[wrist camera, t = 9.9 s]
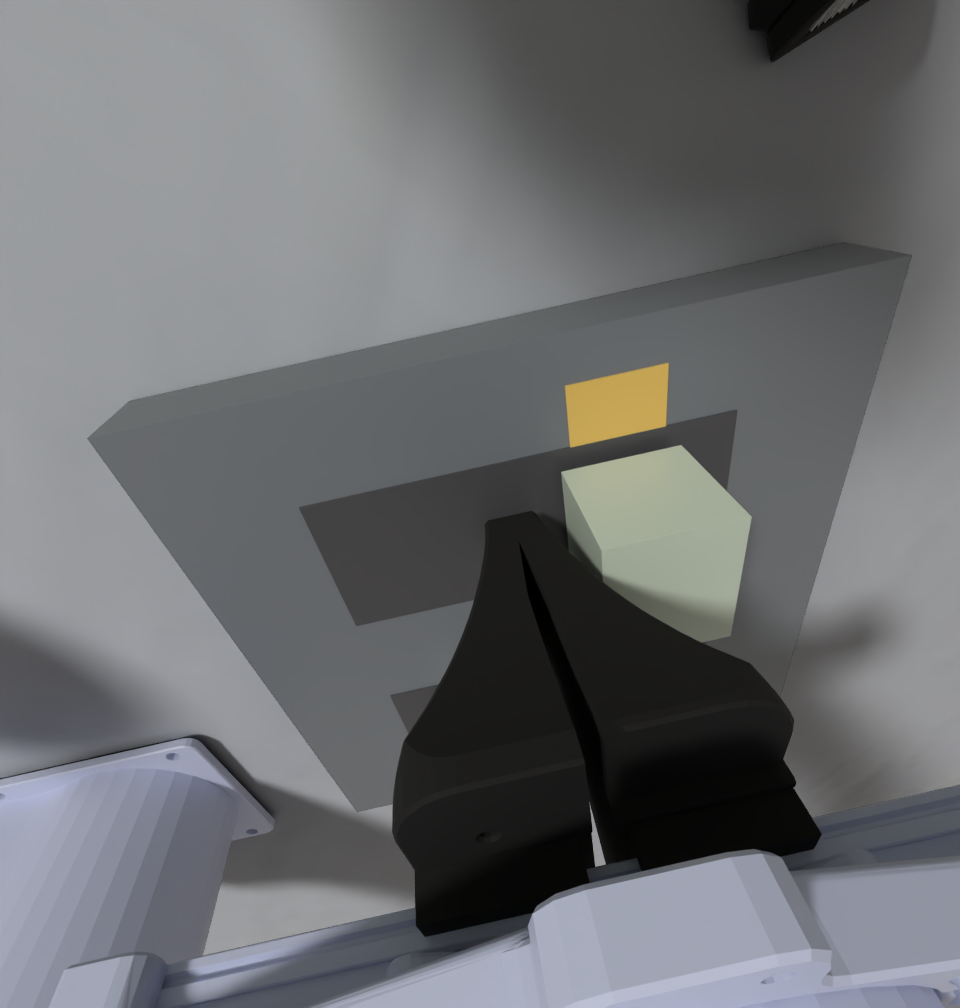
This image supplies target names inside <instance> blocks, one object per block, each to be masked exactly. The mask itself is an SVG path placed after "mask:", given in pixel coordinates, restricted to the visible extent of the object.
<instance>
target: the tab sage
mask: <svg viewBox="0 0 960 1008" xmlns="http://www.w3.org/2000/svg"><path fill="white" fill-rule="evenodd" d="M561 475H562V486H563V496H564V506H565V516H566V526H567V536H568V547H569V552H570V553H571V554H572V555H573V556H574V557H575V558H576V559H577V560H578V561H579V562H580V563H582V564H583V565H584V566H585V567H586V568H587V569H588V570H589V571H591V572H592V573H593V574H594V575H595V576H597V577H598V578H599V579H600V580H601V581H603V582H604V583H605V584H606V585H608V586H609V587H610V588H612V589H613V590H614V591H616V592H617V593H618V594H620V595H621V596H623V597H624V598H625V599H627V600H628V601H630V602H631V603H633V604H634V605H636V606H637V607H639V608H640V609H642V610H643V611H645V612H646V613H648V614H650V615H652V616H653V617H655V618H657V619H659V620H660V621H662V622H664V623H666V624H667V625H669V626H671V627H673V628H674V629H676V630H678V631H680V632H681V633H683V634H685V635H687V636H689V637H691V638H693V639H695V640H697V641H699V642H707V641H711V640H715V639H720V638H724V637H729V636H731V631H732V626H733V620H734V614H735V609H736V603H737V598H738V592H739V586H740V581H741V575H742V569H743V564H744V558H745V552H746V547H747V541H748V535H749V530H750V524H751V518H752V517H751V516H750V515H749V514H748V512H747V511H746V510H745V509H744V508H743V507H742V506H741V505H740V504H739V503H738V502H737V501H736V500H735V499H734V498H733V497H732V496H731V495H730V494H729V493H728V492H727V491H726V490H725V489H724V488H723V487H722V486H721V485H720V484H719V483H718V482H717V481H716V480H715V479H714V478H713V477H712V476H711V475H710V474H709V473H708V472H707V471H706V470H705V469H704V468H703V467H702V466H701V465H700V464H699V463H698V462H697V461H696V460H695V459H694V458H693V457H692V455H691V454H690V453H689V452H688V451H687V450H686V449H685V448H684V447H683V446H682V445H679V446H674V447H670V448H666V449H661V450H657V451H652V452H648V453H643V454H639V455H634V456H630V457H625V458H621V459H616V460H612V461H607V462H603V463H598V464H594V465H589V466H585V467H580V468H576V469H571V470H567V471H562V472H561Z"/></svg>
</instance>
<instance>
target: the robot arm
mask: <svg viewBox="0 0 960 1008" xmlns="http://www.w3.org/2000/svg"><path fill="white" fill-rule="evenodd" d="M484 526H485V548H484V557H483V563H482V568H481V574H480V579H479V583H478V587H477V591H476V594H475V598H474V602H473V605H472V609H471V612H470V615H469V618H468V621H467V623H466V626H465V629H464V632H463V634H462V637H461V639H460V641H459V644H458V646H457V648H456V651H455V653H454V655H453V658H452V660H451V662H450V664H449V666H448V668H447V670H446V672H445V674H444V676H443V677H442V679H441V681H440V683H439V685H438V687H437V688H436V690H435V692H434V694H433V696H432V698H431V699H430V701H429V703H428V704H427V706H426V708H425V709H424V711H423V712H422V714H421V715H420V717H419V718H418V720H417V721H416V723H415V724H414V726H413V728H412V729H411V731H410V732H409V734H408V735H407V737H406V738H405V740H404V742H403V745H402V749H401V753H400V757H399V762H398V767H397V772H396V777H395V785H394V793H393V825H392V833H393V836H394V839H395V842H396V843H397V845H398V846H399V848H400V849H401V851H402V852H403V854H404V855H405V856H406V858H407V859H408V861H409V862H410V864H411V865H412V867H413V868H414V870H415V908H412V909H407V910H403V911H399V912H394V913H390V914H385V915H381V916H376V917H372V918H368V919H363V920H359V921H354V922H350V923H346V924H341V925H337V926H332V927H328V928H323V929H319V930H315V931H310V932H306V933H301V934H297V935H292V936H288V937H284V938H279V939H275V940H270V941H266V942H261V943H257V944H253V945H248V946H244V947H239V948H235V949H230V950H226V951H222V952H217V953H213V954H208V955H204V956H203V953H204V949H205V945H206V941H207V937H208V933H209V929H210V925H211V921H212V917H213V913H214V909H215V905H216V901H217V897H218V893H219V889H220V885H221V881H222V877H223V873H224V869H225V865H226V861H227V857H228V853H229V849H230V845H231V841H235V840H239V839H244V838H248V837H252V836H257V835H261V834H266V833H269V832H271V831H272V830H273V828H274V823H275V820H274V818H273V817H272V816H271V815H270V814H269V813H268V812H267V811H266V810H265V809H264V808H263V807H262V806H261V805H260V804H259V803H258V802H257V801H256V800H255V799H254V798H253V796H252V795H251V794H250V793H249V792H248V791H247V790H246V789H245V788H244V787H243V786H242V785H241V784H240V783H239V782H238V781H237V780H236V779H235V778H234V777H233V776H232V775H231V773H230V772H229V771H228V770H227V769H226V768H225V767H224V766H223V765H222V764H221V763H220V762H219V761H218V760H217V759H216V758H215V757H214V756H213V755H212V754H211V753H210V752H209V750H208V749H207V748H206V747H205V746H204V745H203V744H202V743H201V742H200V741H198V740H196V739H193V738H183V739H178V740H174V741H169V742H165V743H160V744H156V745H151V746H147V747H143V748H138V749H134V750H129V751H125V752H120V753H116V754H111V755H107V756H102V757H98V758H94V759H89V760H85V761H80V762H76V763H71V764H67V765H62V766H58V767H53V768H49V769H45V770H40V771H36V772H31V773H27V774H22V775H18V776H13V777H9V778H4V779H0V1008H960V785H956V786H952V787H947V788H943V789H938V790H934V791H930V792H925V793H921V794H916V795H912V796H907V797H903V798H899V799H894V800H890V801H885V802H881V803H876V804H872V805H868V806H863V807H859V808H854V809H850V810H846V811H841V812H837V813H832V814H828V815H823V816H819V817H815V818H812V817H811V816H810V814H809V812H808V811H807V809H806V808H805V806H804V804H803V803H802V801H801V800H800V798H799V796H798V795H797V793H796V792H795V790H794V788H793V787H795V785H796V781H795V777H794V776H793V774H792V773H791V771H790V770H789V768H788V766H787V765H786V763H785V762H784V760H783V758H784V755H785V752H786V749H787V746H788V743H789V741H790V738H791V735H792V731H793V724H794V719H793V717H792V715H791V713H790V711H789V709H788V708H787V706H786V705H785V704H784V702H783V701H782V699H781V698H780V696H779V695H778V694H777V692H776V691H775V690H774V689H773V688H772V687H771V686H770V684H769V683H768V682H767V681H766V680H765V679H764V678H763V677H762V675H761V674H760V673H759V672H758V671H757V670H756V669H755V668H754V667H753V666H752V664H751V663H749V662H746V661H744V660H742V659H739V658H737V657H734V656H732V655H730V654H727V653H725V652H722V651H720V650H718V649H715V648H713V647H711V646H708V645H706V644H704V643H702V642H699V641H697V640H695V639H693V638H691V637H689V636H687V635H685V634H683V633H681V632H680V631H678V630H676V629H674V628H673V627H671V626H669V625H667V624H666V623H664V622H662V621H660V620H659V619H657V618H655V617H653V616H652V615H650V614H648V613H646V612H645V611H643V610H642V609H640V608H639V607H637V606H636V605H634V604H633V603H631V602H630V601H628V600H627V599H625V598H624V597H623V596H621V595H620V594H618V593H617V592H616V591H614V590H613V589H612V588H610V587H609V586H608V585H606V584H605V583H604V582H603V581H601V580H600V579H599V578H598V577H597V576H595V575H594V574H593V573H592V572H591V571H589V570H588V569H587V568H586V567H585V566H584V565H583V564H582V563H580V562H579V561H578V560H577V559H576V558H575V557H574V556H573V555H572V554H571V553H570V552H569V551H568V550H567V549H566V548H565V547H564V546H563V545H562V544H561V543H560V542H559V541H558V540H557V539H556V538H555V536H554V535H553V534H552V533H551V532H550V531H549V530H548V528H547V527H546V526H545V525H544V524H543V522H542V521H541V520H540V518H539V517H538V516H537V514H536V513H534V512H533V511H528V512H523V513H519V514H515V515H510V516H506V517H501V518H497V519H492V520H488V521H487V522H486V524H485V525H484ZM589 802H590V804H589ZM590 805H591V809H592V813H593V817H594V820H595V824H596V828H597V832H598V836H599V839H600V843H601V847H602V851H603V855H604V859H605V862H606V865H602V866H598V867H595V862H594V853H593V844H592V835H591V833H592V823H591V813H590Z"/></svg>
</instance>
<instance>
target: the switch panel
mask: <svg viewBox="0 0 960 1008" xmlns="http://www.w3.org/2000/svg"><path fill="white" fill-rule="evenodd" d="M911 257H912V255H909V254H903V253H898V252H893V251H887V250H882V249H877V248H871V247H866V246H860V245H855V244H850V243H839V244H835V245H830V246H826V247H821V248H817V249H812V250H808V251H803V252H799V253H794V254H790V255H785V256H781V257H776V258H772V259H767V260H763V261H758V262H754V263H749V264H745V265H740V266H736V267H731V268H727V269H722V270H718V271H713V272H709V273H704V274H700V275H695V276H691V277H686V278H682V279H677V280H673V281H668V282H664V283H659V284H655V285H650V286H646V287H641V288H637V289H632V290H628V291H623V292H619V293H614V294H610V295H605V296H601V297H596V298H592V299H587V300H583V301H578V302H574V303H569V304H565V305H560V306H556V307H551V308H547V309H542V310H538V311H533V312H529V313H524V314H520V315H515V316H511V317H506V318H502V319H497V320H493V321H488V322H484V323H479V324H475V325H470V326H466V327H461V328H457V329H452V330H448V331H443V332H439V333H434V334H429V335H425V336H420V337H416V338H411V339H407V340H402V341H398V342H393V343H389V344H384V345H380V346H375V347H371V348H366V349H362V350H357V351H353V352H348V353H344V354H339V355H335V356H330V357H326V358H321V359H317V360H312V361H308V362H303V363H299V364H294V365H290V366H285V367H281V368H276V369H272V370H267V371H263V372H258V373H254V374H249V375H245V376H240V377H236V378H231V379H227V380H222V381H218V382H213V383H209V384H204V385H200V386H195V387H191V388H186V389H182V390H177V391H173V392H168V393H164V394H159V395H155V396H150V397H146V398H141V399H137V400H132V401H129V402H128V403H127V404H125V405H124V406H123V407H122V408H121V409H120V410H119V411H117V412H116V413H115V414H114V415H113V416H112V417H111V418H110V419H108V420H107V421H106V422H105V423H104V424H103V425H102V426H101V427H99V428H98V429H97V430H96V431H95V432H94V433H93V434H92V435H90V436H89V437H88V438H87V439H88V440H89V441H90V443H91V444H92V446H93V447H94V448H95V450H96V451H97V453H98V454H99V455H100V457H101V458H102V459H103V461H104V462H105V464H106V465H107V466H108V468H109V469H110V471H111V472H112V473H113V475H114V476H115V478H116V479H117V480H118V482H119V483H120V484H121V486H122V487H123V489H124V490H125V491H126V493H127V494H128V496H129V497H130V498H131V500H132V501H133V502H134V504H135V505H136V507H137V508H138V509H139V511H140V512H141V514H142V515H143V516H144V518H145V519H146V520H147V522H148V523H149V525H150V526H151V527H152V529H153V530H154V532H155V533H156V534H157V536H158V537H159V538H160V540H161V541H162V543H163V544H164V545H165V547H166V548H167V550H168V551H169V552H170V554H171V555H172V556H173V558H174V559H175V561H176V562H177V563H178V565H179V566H180V568H181V569H182V570H183V572H184V573H185V574H186V576H187V577H188V579H189V580H190V581H191V583H192V584H193V586H194V587H195V588H196V590H197V591H198V592H199V594H200V595H201V597H202V598H203V599H204V601H205V602H206V604H207V605H208V606H209V608H210V609H211V610H212V612H213V613H214V615H215V616H216V617H217V619H218V620H219V622H220V623H221V624H222V626H223V627H224V629H225V630H226V631H227V633H228V634H229V635H230V637H231V638H232V640H233V641H234V642H235V644H236V645H237V647H238V648H239V649H240V651H241V652H242V653H243V655H244V656H245V658H246V659H247V660H248V662H249V663H250V665H251V666H252V667H253V669H254V670H255V671H256V673H257V674H258V676H259V677H260V678H261V680H262V681H263V683H264V684H265V685H266V687H267V688H268V689H269V691H270V692H271V694H272V695H273V696H274V698H275V699H276V701H277V702H278V703H279V705H280V706H281V707H282V709H283V710H284V712H285V713H286V714H287V716H288V717H289V719H290V720H291V721H292V723H293V724H294V725H295V727H296V728H297V730H298V731H299V732H300V734H301V735H302V737H303V738H304V739H305V741H306V742H307V743H308V745H309V746H310V748H311V749H312V750H313V752H314V753H315V755H316V756H317V757H318V759H319V760H320V761H321V763H322V764H323V766H324V767H325V768H326V770H327V771H328V773H329V774H330V775H331V777H332V778H333V780H334V781H335V782H336V784H337V785H338V786H339V788H340V789H341V791H342V792H343V793H344V795H345V796H346V798H347V799H348V800H349V802H350V803H351V804H352V806H353V807H354V809H355V810H356V811H357V812H360V811H364V810H368V809H373V808H377V807H382V806H386V805H391V804H393V793H394V785H395V777H396V772H397V767H398V762H399V757H400V753H401V749H402V745H403V742H404V740H405V738H406V737H407V735H408V734H409V732H410V731H411V729H412V728H413V726H414V724H415V723H416V721H417V720H418V718H419V717H420V715H421V714H422V712H423V711H424V709H425V708H426V706H427V704H428V703H429V701H430V699H431V698H432V696H433V694H434V692H435V690H436V688H437V687H438V685H439V683H440V681H441V679H442V677H443V676H444V674H445V672H446V670H447V668H448V666H449V664H450V662H451V660H452V658H453V655H454V653H455V651H456V648H457V646H458V644H459V641H460V639H461V637H462V634H463V632H464V629H465V626H466V623H467V621H468V618H469V615H470V612H471V609H472V605H473V602H474V598H475V594H476V591H477V587H478V583H479V579H480V574H481V568H482V563H483V557H484V548H485V526H484V525H485V524H486V522H487V521H488V520H492V519H497V518H501V517H506V516H510V515H515V514H519V513H523V512H528V511H533V512H534V513H536V514H537V516H538V517H539V518H540V520H541V521H542V522H543V524H544V525H545V526H546V527H547V528H548V530H549V531H550V532H551V533H552V534H553V535H554V536H555V538H556V539H557V540H558V541H559V542H560V543H561V544H562V545H563V546H564V547H565V548H566V549H567V550H568V551H569V547H568V536H567V526H566V516H565V506H564V496H563V486H562V475H561V472H562V471H567V470H571V469H576V468H580V467H585V466H589V465H594V464H598V463H603V462H607V461H612V460H616V459H621V458H625V457H630V456H634V455H639V454H643V453H648V452H652V451H657V450H661V449H666V448H670V447H674V446H679V445H682V446H683V447H684V448H685V449H686V450H687V451H688V452H689V453H690V454H691V455H692V457H693V458H694V459H695V460H696V461H697V462H698V463H699V464H700V465H701V466H702V467H703V468H704V469H705V470H706V471H707V472H708V473H709V474H710V475H711V476H712V477H713V478H714V479H715V480H716V481H717V482H718V483H719V484H720V485H721V486H722V487H723V488H724V489H725V490H726V491H727V492H728V493H729V494H730V495H731V496H732V497H733V498H734V499H735V500H736V501H737V502H738V503H739V504H740V505H741V506H742V507H743V508H744V509H745V510H746V511H747V512H748V514H749V515H750V516H751V517H752V518H751V524H750V530H749V535H748V541H747V547H746V552H745V558H744V564H743V569H742V575H741V581H740V586H739V592H738V598H737V603H736V609H735V614H734V620H733V626H732V631H731V636H729V637H724V638H720V639H715V640H711V641H707V642H702V643H704V644H706V645H708V646H711V647H713V648H715V649H718V650H720V651H722V652H725V653H727V654H730V655H732V656H734V657H737V658H739V659H742V660H744V661H746V662H749V663H751V664H752V666H753V667H754V668H755V669H756V670H757V671H758V672H759V673H760V674H761V675H762V677H763V678H764V679H765V680H766V681H767V682H768V683H769V684H770V686H771V687H772V688H773V689H774V690H775V691H776V692H777V694H778V695H779V696H781V692H782V689H783V686H784V682H785V679H786V675H787V672H788V669H789V665H790V662H791V659H792V655H793V652H794V649H795V645H796V642H797V639H798V635H799V632H800V629H801V625H802V622H803V619H804V615H805V612H806V608H807V605H808V602H809V598H810V595H811V592H812V588H813V585H814V582H815V578H816V575H817V572H818V568H819V565H820V562H821V558H822V555H823V551H824V548H825V545H826V541H827V538H828V535H829V531H830V528H831V525H832V521H833V518H834V515H835V511H836V508H837V505H838V501H839V498H840V495H841V491H842V488H843V484H844V481H845V478H846V474H847V471H848V468H849V464H850V461H851V458H852V454H853V451H854V448H855V444H856V441H857V438H858V434H859V431H860V428H861V424H862V421H863V417H864V414H865V411H866V407H867V404H868V401H869V397H870V394H871V391H872V387H873V384H874V381H875V377H876V374H877V371H878V367H879V364H880V360H881V357H882V354H883V350H884V347H885V344H886V340H887V337H888V334H889V330H890V327H891V324H892V320H893V317H894V314H895V310H896V307H897V304H898V300H899V297H900V293H901V290H902V287H903V283H904V280H905V277H906V273H907V270H908V267H909V263H910V260H911Z"/></svg>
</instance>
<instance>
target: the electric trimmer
mask: <svg viewBox="0 0 960 1008" xmlns="http://www.w3.org/2000/svg"><path fill="white" fill-rule="evenodd" d="M868 1H869V0H749V2H748V18H749V29H750V30H761V31H766V32H769V34H768V36H767V39H766V40H767V45H768V50H769V55H770V60H771V62H774V61H776V60H777V59H779V58H780V57H782V56H783V55H785V54H787V53H788V52H790V51H791V50H793V49H794V48H796V47H797V46H799V45H801V44H802V43H804V42H805V41H807V40H808V39H810V38H812V37H813V36H815V35H816V34H818V33H819V32H821V31H822V30H824V29H826V28H827V27H829V26H830V25H832V24H833V23H835V22H836V21H838V20H840V19H841V18H843V17H844V16H846V15H847V14H849V13H850V12H852V11H854V10H855V9H857V8H858V7H860V6H861V5H863V4H864V3H866V2H868Z"/></svg>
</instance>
